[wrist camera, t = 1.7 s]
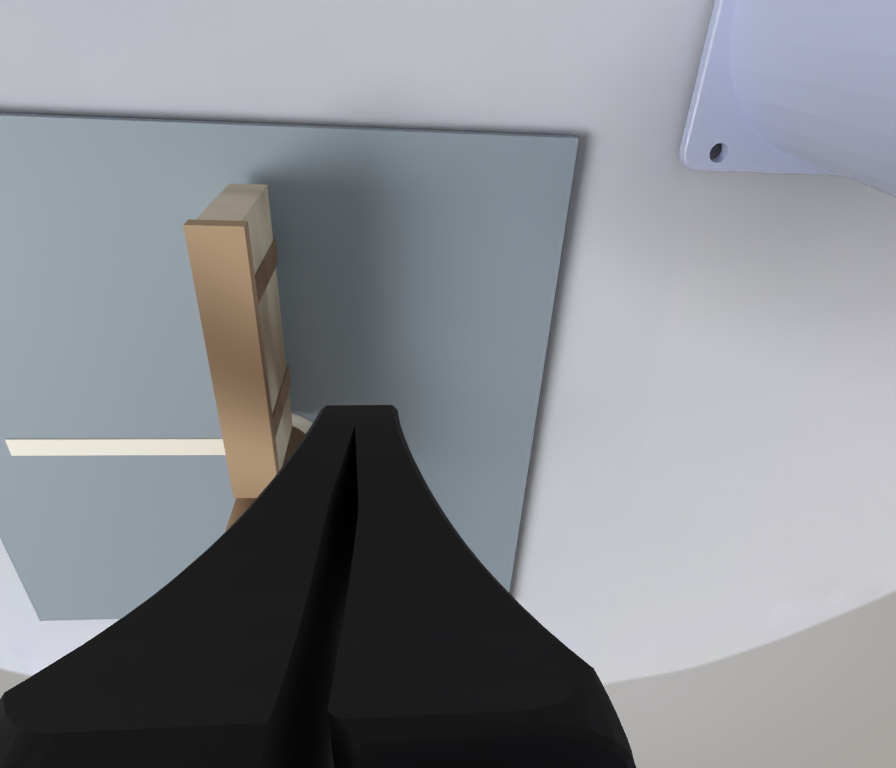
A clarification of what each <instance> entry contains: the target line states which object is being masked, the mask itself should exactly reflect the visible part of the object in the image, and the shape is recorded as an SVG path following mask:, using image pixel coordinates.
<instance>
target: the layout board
mask: <svg viewBox="0 0 896 768" xmlns="http://www.w3.org/2000/svg"><path fill="white" fill-rule="evenodd" d="M578 141H579V138H578V137H576V136H571V135H546V134H521V133H496V132H471V131H446V130H421V129H396V128H371V127H346V126H321V125H296V124H271V123H246V122H221V121H196V120H172V119H147V118H122V117H97V116H72V115H47V114H22V113H0V538H1V540H2V542H3V545H4V547H5V549H6V551H7V553H8V555H9V557H10V559H11V561H12V563H13V565H14V568H15V570H16V572H17V574H18V576H19V578H20V580H21V582H22V584H23V586H24V588H25V590H26V593H27V595H28V597H29V599H30V601H31V603H32V605H33V607H34V609H35V611H36V613H37V616H38V618H39V620H40V621H49V620H90V619H121V618H123V617H124V616H126V615H127V614H128V613H130V612H131V611H132V610H134V609H135V608H137V607H138V606H139V605H141V604H142V603H143V602H145V601H146V600H147V599H149V598H150V597H151V596H153V595H154V594H155V593H157V592H158V591H159V590H160V589H162V588H163V587H164V586H165V585H167V584H168V583H169V582H170V581H172V580H173V579H174V578H175V577H176V576H178V575H179V574H180V573H181V572H182V571H183V570H184V569H186V568H187V567H188V566H189V565H190V564H191V563H192V562H194V561H195V560H196V559H197V558H198V557H199V556H200V555H201V554H203V553H204V552H205V551H206V550H207V549H208V548H209V547H210V546H211V545H212V544H213V543H214V542H215V541H217V540H218V539H219V538H220V537H221V536H222V535H223V534H224V533H225V530H226V527H227V524H228V521H229V518H230V515H231V512H232V509H233V506H234V503H235V500H236V498H234V497H233V492H232V487H231V481H230V476H229V470H228V465H227V459H226V454H225V449H224V443H223V438H222V432H221V427H220V422H219V416H218V411H217V405H216V400H215V395H214V389H213V384H212V378H211V373H210V367H209V362H208V357H207V351H206V346H205V340H204V335H203V330H202V324H201V319H200V313H199V308H198V302H197V297H196V292H195V286H194V281H193V275H192V270H191V265H190V259H189V254H188V248H187V243H186V237H185V232H184V227H183V225H184V224H185V223H186V222H187V221H188V219H191V220H196V218H197V217H198V216H199V215H200V214H201V213H202V212H203V211H204V210H205V209H206V208H207V207H208V206H209V205H210V203H211V202H212V201H213V200H214V199H215V198H216V197H217V196H218V195H219V194H220V193H221V192H222V191H223V190H224V188H225V187H226V186H227V185H228V184H229V183H231V184H263V185H267V188H268V197H269V206H270V216H271V225H272V234H273V239H276V248H277V258H278V264H277V266H276V272H277V281H278V291H279V300H280V309H281V319H282V328H283V338H284V347H285V356H286V366H289V373H290V383H291V385H290V389H289V394H290V403H291V413H292V422H293V427H296V428H298V429H300V430H301V431H303V432H304V433H305V434H306V433H307V432H308V430H309V428H310V427H311V425H312V424H313V422H314V420H315V419H316V417H317V415H318V414H319V412H320V410H321V409H323V408H324V407H325V406H326V405H393V406H394V407H395V408H396V409H397V410H398V415H399V420H400V424H401V428H402V431H403V434H404V437H405V439H406V442H407V444H408V447H409V449H410V452H411V454H412V456H413V458H414V460H415V462H416V464H417V466H418V468H419V470H420V472H421V474H422V476H423V478H424V480H425V482H426V484H427V485H428V487H429V489H430V491H431V492H432V494H433V496H434V497H435V499H436V501H437V502H438V504H439V506H440V507H441V509H442V510H443V512H444V513H445V515H446V516H447V518H448V519H449V521H450V522H451V524H452V525H453V527H454V528H455V529H456V531H457V532H458V534H459V535H460V536H461V538H462V539H463V540H464V542H465V543H466V544H467V546H468V547H469V548H470V549H471V551H472V552H473V553H474V554H475V555H476V557H477V558H478V559H479V560H480V562H481V563H482V564H483V565H484V566H485V568H486V569H487V570H488V571H489V572H490V573H491V574H492V575H493V576H494V577H495V578H496V579H497V580H498V582H499V583H500V584H501V585H502V586H503V587H504V588H505V589H506V590H507V591H508V592H509V591H510V585H511V578H512V572H513V565H514V559H515V552H516V546H517V539H518V533H519V526H520V520H521V513H522V507H523V500H524V493H525V487H526V480H527V474H528V467H529V461H530V454H531V448H532V441H533V435H534V428H535V422H536V415H537V409H538V402H539V396H540V389H541V383H542V376H543V369H544V363H545V356H546V350H547V343H548V337H549V330H550V324H551V317H552V311H553V304H554V298H555V291H556V285H557V278H558V272H559V265H560V259H561V252H562V245H563V239H564V232H565V226H566V219H567V213H568V206H569V200H570V193H571V187H572V180H573V174H574V167H575V161H576V154H577V148H578Z"/></svg>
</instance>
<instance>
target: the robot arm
mask: <svg viewBox="0 0 896 768" xmlns="http://www.w3.org/2000/svg"><path fill="white" fill-rule="evenodd" d="M718 143H721V144H722V151H721V153H720V155H719V156H718V157H716V158H715V159H710V151H711V149H712V147H713V146H715V145H716V144H718ZM679 156H680V159H681V162H682V163H683V164H684V165H685V166H687V167H688V168H690V169H694V170H704V171H732V172H760V173H788V174H816V175H842V176H845V177H847V178H850V179H853V180H855V181H858V182H860V183H863V184H865V185H868V186H870V187H873V188H875V189H878V190H880V191H883V192H885V193H888V194H890V195H893V196H895V197H896V0H715V3H714V7H713V11H712V16H711V20H710V24H709V28H708V32H707V37H706V41H705V45H704V49H703V53H702V58H701V62H700V66H699V70H698V74H697V79H696V83H695V87H694V91H693V95H692V100H691V104H690V108H689V112H688V116H687V121H686V125H685V129H684V133H683V137H682V142H681V146H680V153H679ZM0 768H636V766H635V763H634V759H633V755H632V751H631V748H630V745H629V742H628V739H627V737H626V734H625V732H624V730H623V727H622V725H621V723H620V720H619V718H618V716H617V713H616V711H615V709H614V707H613V705H612V703H611V701H610V699H609V696H608V694H607V693H606V691H605V689H604V687H603V685H602V683H601V681H600V679H599V677H598V676H597V674H596V672H595V670H594V668H592V667H591V666H590V665H588V664H587V663H586V662H585V661H584V660H582V659H581V658H580V657H579V656H577V655H576V654H575V653H574V652H572V651H571V650H570V649H569V648H568V647H566V646H565V645H564V644H563V643H562V642H561V641H559V640H558V639H557V638H556V637H555V636H554V635H552V634H551V633H550V632H549V631H548V630H547V629H546V628H544V627H543V626H542V625H541V624H540V623H539V622H538V621H537V620H536V619H535V618H534V617H533V616H532V615H531V614H530V613H529V612H528V611H526V610H525V609H524V608H523V607H522V606H521V605H520V604H519V603H518V602H517V601H516V600H515V599H514V598H513V596H512V595H511V594H510V593H509V592H508V591H507V590H506V589H505V588H504V587H503V586H502V585H501V584H500V583H499V582H498V580H497V579H496V578H495V577H494V576H493V575H492V574H491V573H490V572H489V571H488V570H487V569H486V568H485V566H484V565H483V564H482V563H481V562H480V560H479V559H478V558H477V557H476V555H475V554H474V553H473V552H472V551H471V549H470V548H469V547H468V546H467V544H466V543H465V542H464V540H463V539H462V538H461V536H460V535H459V534H458V532H457V531H456V529H455V528H454V527H453V525H452V524H451V522H450V521H449V519H448V518H447V516H446V515H445V513H444V512H443V510H442V509H441V507H440V506H439V504H438V502H437V501H436V499H435V497H434V496H433V494H432V492H431V491H430V489H429V487H428V485H427V484H426V482H425V480H424V478H423V476H422V474H421V472H420V470H419V468H418V466H417V464H416V462H415V460H414V458H413V456H412V454H411V452H410V449H409V447H408V444H407V442H406V439H405V437H404V434H403V431H402V428H401V424H400V420H399V415H398V410H397V409H396V408H395V407H394V406H393V405H326V406H325V407H324V408H323V409H321V410H320V412H319V414H318V415H317V417H316V419H315V420H314V422H313V424H312V425H311V427H310V428H309V430H308V432H307V433H306V435H305V436H304V438H303V439H302V440H301V442H300V443H299V445H298V446H297V448H296V449H295V451H294V452H293V453H292V455H291V456H290V457H289V459H288V460H287V461H286V463H285V464H284V465H283V467H282V468H281V469H280V471H279V472H278V473H277V475H276V476H275V477H274V478H273V480H272V481H271V482H270V483H269V484H268V485H267V487H266V488H265V489H264V490H263V491H262V492H261V494H260V495H259V496H258V497H257V498H256V499H255V501H254V502H253V503H252V504H251V505H250V506H249V508H248V509H247V510H246V511H245V512H244V513H243V514H242V515H241V516H240V517H239V518H238V519H237V521H236V522H235V523H234V524H233V525H232V526H231V527H230V528H229V529H228V530H227V531H226V532H225V533H224V534H223V535H222V536H221V537H220V538H219V539H218V540H217V541H215V542H214V543H213V544H212V545H211V546H210V547H209V548H208V549H207V550H206V551H205V552H204V553H203V554H201V555H200V556H199V557H198V558H197V559H196V560H195V561H194V562H192V563H191V564H190V565H189V566H188V567H187V568H186V569H184V570H183V571H182V572H181V573H180V574H179V575H178V576H176V577H175V578H174V579H173V580H172V581H170V582H169V583H168V584H167V585H165V586H164V587H163V588H162V589H160V590H159V591H158V592H157V593H155V594H154V595H153V596H151V597H150V598H149V599H147V600H146V601H145V602H143V603H142V604H141V605H139V606H138V607H137V608H135V609H134V610H132V611H131V612H130V613H128V614H127V615H126V616H124V617H123V618H121V619H120V620H118V621H117V622H116V623H114V624H113V625H111V626H110V627H108V628H107V629H106V630H104V631H103V632H101V633H100V634H98V635H97V636H95V637H94V638H92V639H91V640H89V641H88V642H86V643H85V644H83V645H82V646H80V647H78V648H77V649H75V650H74V651H72V652H70V653H69V654H67V655H65V656H64V657H62V658H61V659H59V660H57V661H56V662H54V663H53V664H51V665H49V666H48V667H46V668H44V669H43V670H41V671H40V672H38V673H36V674H35V675H33V676H31V677H30V678H28V679H27V680H25V681H23V682H22V683H20V684H18V685H16V686H15V687H13V688H11V689H10V690H8V691H6V692H5V693H4V694H3V696H2V697H1V699H0Z"/></svg>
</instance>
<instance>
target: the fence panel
mask: <svg viewBox="0 0 896 768" xmlns="http://www.w3.org/2000/svg"><path fill="white" fill-rule="evenodd" d="M183 227H184V232H185V237H186V243H187V248H188V254H189V259H190V265H191V270H192V275H193V281H194V286H195V292H196V297H197V302H198V308H199V313H200V319H201V324H202V330H203V335H204V340H205V346H206V351H207V357H208V362H209V367H210V373H211V378H212V384H213V389H214V395H215V400H216V405H217V411H218V416H219V422H220V427H221V432H222V438H223V443H224V449H225V454H226V459H227V465H228V470H229V476H230V481H231V487H232V492H233V497H234V498H257V497H258V496H259V495H260V494H261V492H262V491H263V490H264V489H265V488H266V487H267V485H268V484H269V483H270V482H271V481H272V480H273V478H274V477H275V476H276V475H277V473H278V472H279V471H280V469H281V468H282V465H283V462H284V458H285V454H286V450H287V446H288V442H289V438H290V434H291V430H292V426H293V422H292V413H291V403H290V394H289V389H290V385H291V383H290V373H289V366H286V356H285V347H284V338H283V328H282V319H281V309H280V300H279V291H278V281H277V272H276V266H277V264H278V258H277V248H276V239H273V234H272V225H271V216H270V206H269V197H268V188H267V185H263V184H231V183H229V184H228V185H227V186H226V187H225V188H224V190H223V191H222V192H221V193H220V194H219V195H218V196H217V197H216V198H215V199H214V200H213V201H212V202H211V203H210V205H209V206H208V207H207V208H206V209H205V210H204V211H203V212H202V213H201V214H200V215H199V216H198V217H197V218H196V220H191V219H188V221H187V222H186V223H185V224H184V225H183Z"/></svg>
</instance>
